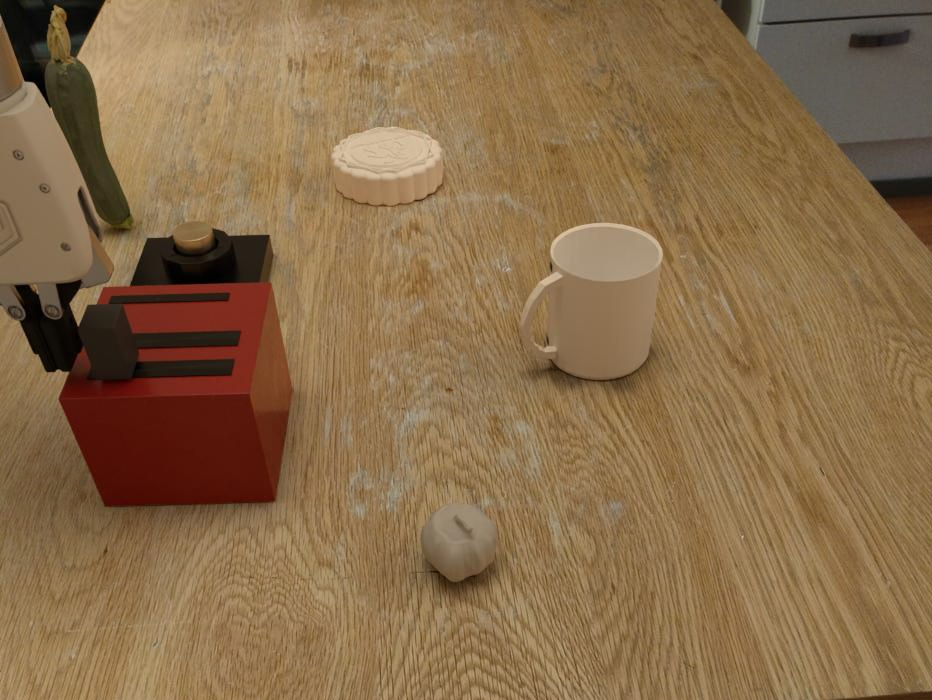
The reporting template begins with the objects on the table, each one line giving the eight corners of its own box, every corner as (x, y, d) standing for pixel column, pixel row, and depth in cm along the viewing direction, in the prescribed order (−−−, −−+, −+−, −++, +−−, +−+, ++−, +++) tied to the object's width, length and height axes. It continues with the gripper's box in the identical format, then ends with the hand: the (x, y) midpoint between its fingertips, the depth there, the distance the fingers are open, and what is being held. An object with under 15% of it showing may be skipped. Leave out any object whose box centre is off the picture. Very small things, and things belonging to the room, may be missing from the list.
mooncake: (355, 217, 100) (351, 182, 98) (319, 168, 107) (314, 135, 104) (460, 192, 103) (459, 159, 100) (419, 147, 110) (417, 114, 107)
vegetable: (106, 245, 98) (31, 22, 82) (86, 229, 100) (9, 9, 84) (145, 229, 99) (79, 9, 84) (124, 214, 101) (57, -4, 86)
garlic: (502, 591, 67) (502, 538, 63) (424, 597, 67) (420, 544, 63) (494, 531, 71) (494, 477, 67) (421, 536, 71) (416, 482, 67)
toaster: (104, 507, 73) (57, 397, 65) (140, 393, 82) (102, 285, 74) (275, 502, 73) (248, 392, 65) (292, 389, 82) (271, 280, 74)
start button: (174, 259, 89) (169, 241, 87) (180, 239, 91) (175, 221, 90) (213, 258, 89) (208, 240, 87) (218, 238, 91) (214, 220, 90)
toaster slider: (96, 380, 66) (76, 329, 63) (105, 354, 68) (87, 304, 65) (131, 379, 66) (113, 328, 63) (139, 354, 68) (122, 303, 65)
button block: (133, 315, 89) (120, 275, 86) (153, 258, 96) (141, 219, 93) (262, 311, 89) (253, 271, 86) (273, 255, 96) (266, 216, 93)
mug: (627, 314, 88) (639, 216, 81) (664, 371, 83) (680, 271, 76) (501, 335, 86) (502, 236, 79) (530, 395, 81) (533, 295, 74)
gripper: (-223, 104, 50) (-62, 397, 64) (65, 96, 50) (162, 390, 64) (-166, 48, 54) (-28, 332, 69) (98, 41, 55) (181, 326, 69)
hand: (64, 360), depth 66 cm, fingers closed
